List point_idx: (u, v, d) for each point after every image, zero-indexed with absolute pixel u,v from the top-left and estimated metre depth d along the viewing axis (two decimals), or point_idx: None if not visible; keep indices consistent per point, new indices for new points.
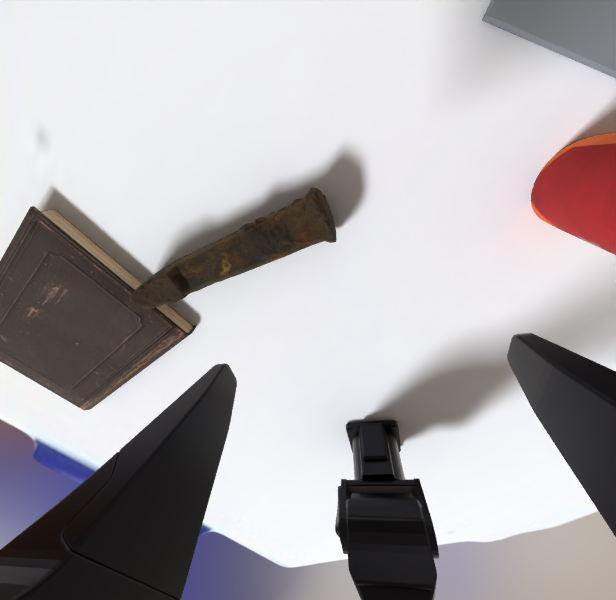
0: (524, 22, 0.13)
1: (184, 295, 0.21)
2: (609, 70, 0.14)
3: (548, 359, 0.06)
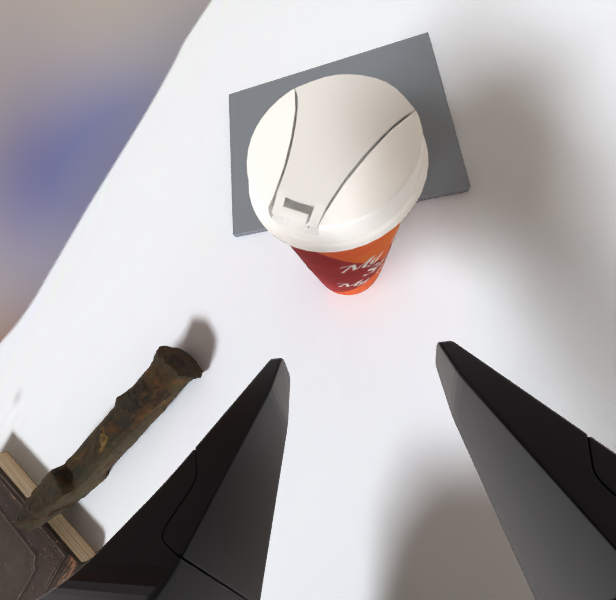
0: (251, 228, 0.25)
1: (65, 491, 0.20)
2: None
3: (455, 367, 0.06)
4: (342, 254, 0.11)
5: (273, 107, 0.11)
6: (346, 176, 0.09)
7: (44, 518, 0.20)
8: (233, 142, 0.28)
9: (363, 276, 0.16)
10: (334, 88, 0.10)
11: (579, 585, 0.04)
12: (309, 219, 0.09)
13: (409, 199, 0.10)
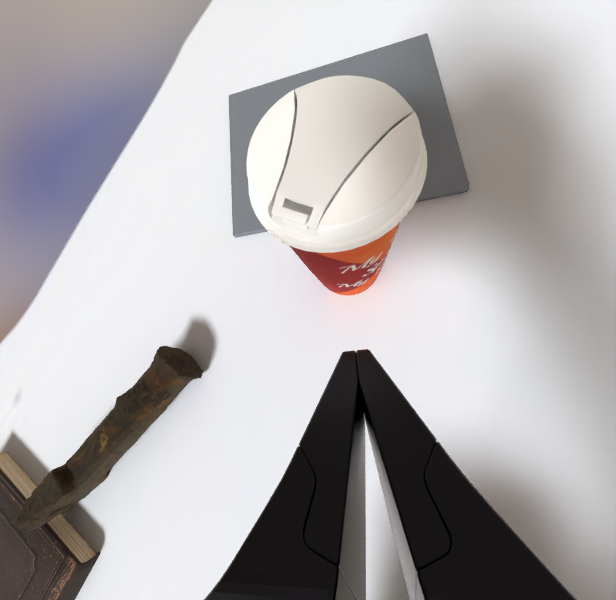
0: (250, 228, 0.25)
1: (65, 492, 0.20)
2: None
3: (359, 375, 0.07)
4: (342, 254, 0.11)
5: (273, 108, 0.11)
6: (345, 177, 0.09)
7: (44, 518, 0.20)
8: (233, 143, 0.28)
9: (363, 276, 0.16)
10: (333, 89, 0.10)
11: (409, 575, 0.04)
12: (308, 220, 0.09)
13: (408, 199, 0.10)
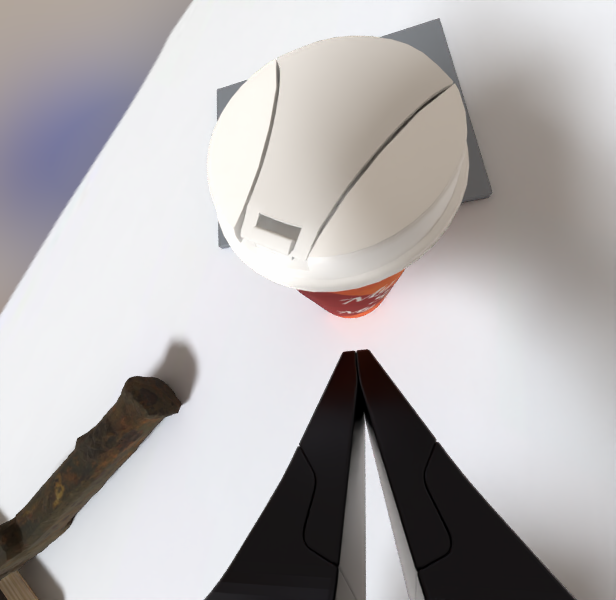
0: None
1: (10, 555, 0.17)
2: None
3: (359, 375, 0.07)
4: None
5: (246, 85, 0.08)
6: (350, 182, 0.06)
7: None
8: None
9: (369, 304, 0.13)
10: (332, 56, 0.07)
11: (409, 575, 0.04)
12: (294, 247, 0.06)
13: (443, 216, 0.06)
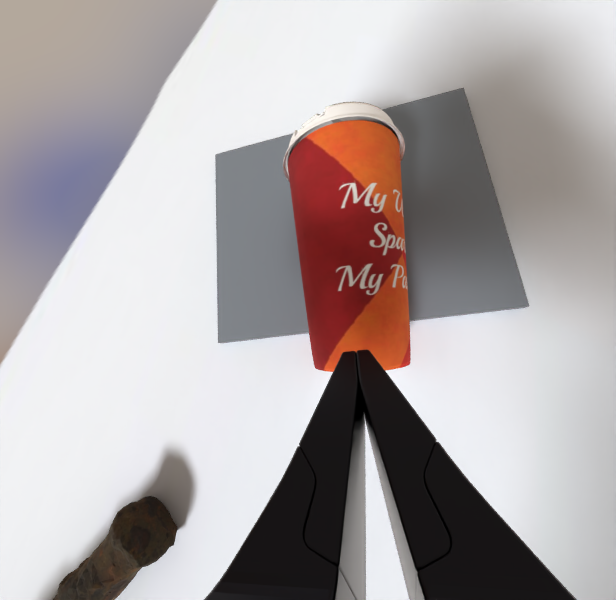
0: (240, 336, 0.20)
1: None
2: None
3: (359, 375, 0.07)
4: (341, 145, 0.13)
5: None
6: None
7: None
8: (219, 218, 0.23)
9: (370, 246, 0.13)
10: None
11: (409, 575, 0.04)
12: (320, 117, 0.14)
13: (391, 125, 0.14)
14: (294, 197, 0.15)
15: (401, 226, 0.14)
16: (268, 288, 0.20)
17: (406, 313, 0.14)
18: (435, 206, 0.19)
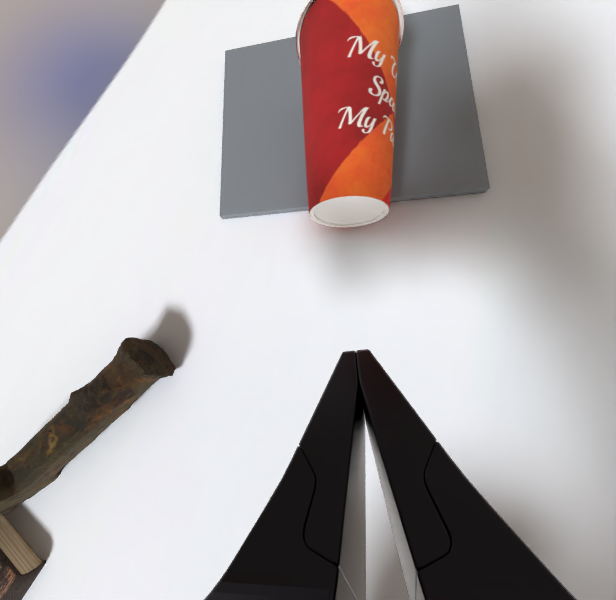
0: (240, 210, 0.22)
1: (3, 497, 0.18)
2: (306, 208, 0.22)
3: (359, 375, 0.07)
4: (353, 2, 0.15)
5: None
6: None
7: None
8: (226, 108, 0.24)
9: (369, 93, 0.15)
10: None
11: (409, 575, 0.04)
12: None
13: None
14: (304, 58, 0.17)
15: (394, 91, 0.16)
16: (269, 170, 0.22)
17: (390, 163, 0.16)
18: (422, 105, 0.21)
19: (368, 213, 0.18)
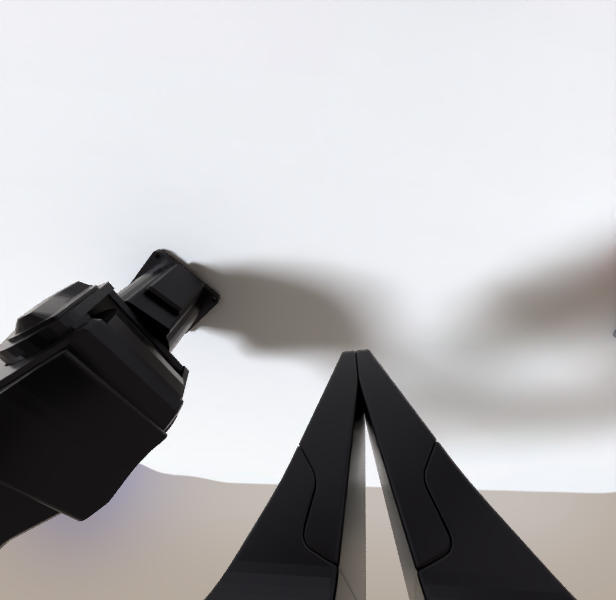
0: None
1: None
2: None
3: (359, 375, 0.07)
4: None
5: None
6: None
7: None
8: None
9: None
10: None
11: (409, 575, 0.04)
12: None
13: None
14: None
15: None
16: None
17: None
18: None
19: None
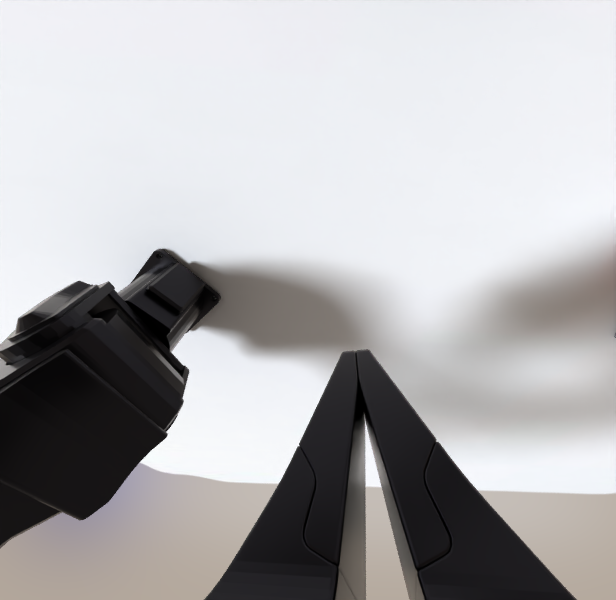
0: None
1: None
2: None
3: (359, 375, 0.07)
4: None
5: None
6: None
7: None
8: None
9: None
10: None
11: (409, 575, 0.04)
12: None
13: None
14: None
15: None
16: None
17: None
18: None
19: None
